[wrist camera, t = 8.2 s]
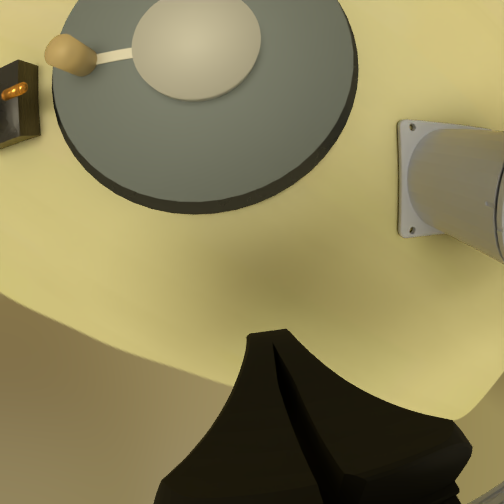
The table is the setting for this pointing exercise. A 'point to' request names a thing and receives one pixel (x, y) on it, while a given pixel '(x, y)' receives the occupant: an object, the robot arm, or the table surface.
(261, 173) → the disc
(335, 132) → the plinth
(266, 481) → the robot arm
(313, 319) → the table surface
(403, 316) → the table surface
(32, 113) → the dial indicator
